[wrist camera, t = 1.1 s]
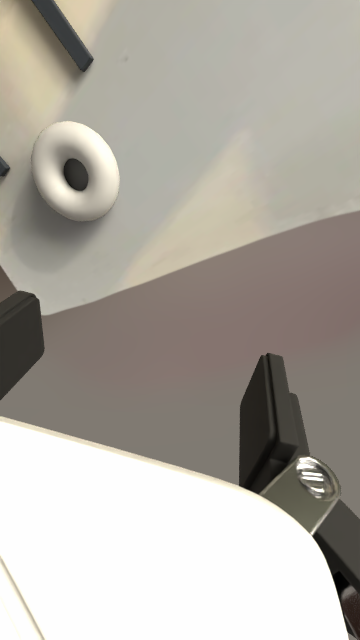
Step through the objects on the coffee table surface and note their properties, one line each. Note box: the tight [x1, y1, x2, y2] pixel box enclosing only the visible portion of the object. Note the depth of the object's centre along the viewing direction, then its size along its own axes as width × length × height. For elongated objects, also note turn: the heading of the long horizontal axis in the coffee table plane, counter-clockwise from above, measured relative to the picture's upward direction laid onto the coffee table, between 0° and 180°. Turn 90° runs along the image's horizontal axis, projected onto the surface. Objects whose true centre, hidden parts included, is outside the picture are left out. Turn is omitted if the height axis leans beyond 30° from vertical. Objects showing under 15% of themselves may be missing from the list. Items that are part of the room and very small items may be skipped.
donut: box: [31, 121, 120, 222], centre depth 32 cm, size 10×4×10 cm
